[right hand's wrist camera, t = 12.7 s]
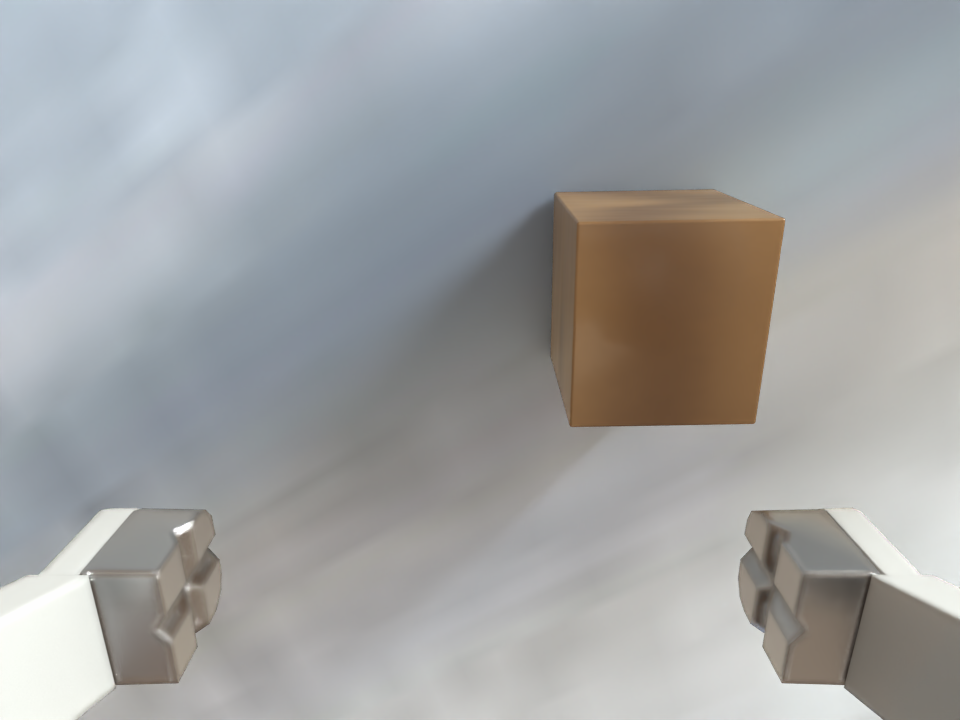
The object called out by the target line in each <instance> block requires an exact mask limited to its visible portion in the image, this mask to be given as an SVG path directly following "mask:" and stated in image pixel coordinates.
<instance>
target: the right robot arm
mask: <svg viewBox="0 0 960 720" xmlns="http://www.w3.org/2000/svg"><path fill="white" fill-rule="evenodd" d="M214 536H215V530H214V525H213V520H212V516H211V515H210V514H209V513H208V512H207V511H206V510H194V509H145V508H142V509H138V508H109V509H104V510H100V511H99V512H98V513H97V514H96V515H95V516H94V517H93V518H92V519H91V520H90V521H89V522H88V524H87V525H86V526H85V527H84V528H83V529H82V530H81V531H80V532H79V533H78V534H77V535H76V536H75V537H74V538H73V539H72V540H71V541H70V542H69V543H68V545H67V546H66V547H65V548H64V549H63V550H62V551H61V552H60V553H59V554H58V555H57V556H56V557H55V558H54V559H53V560H52V561H51V562H50V563H49V564H48V566H47V567H46V568H45V569H44V570H43V571H42V572H41V573H40V574H39V575H26V576H24V577H22V578H20V579H18V580H16V581H14V582H11V583H9V584H7V585H5V586H3V587H1V588H0V720H77V719H78V718H80V717H81V716H82V715H83V714H85V713H86V712H87V711H88V710H89V709H91V708H92V707H93V706H94V705H96V704H97V703H98V702H99V701H101V700H102V699H103V698H104V697H105V696H107V695H108V694H109V693H110V692H112V691H113V690H114V689H115V688H116V686H115V685H129V684H163V683H179V681H180V679H181V677H182V675H183V673H184V671H185V669H186V667H187V666H188V664H189V662H190V660H191V658H192V656H193V654H194V652H195V650H196V649H197V647H198V646H197V640H196V635H195V633H197V632H198V631H199V630H201V629H202V628H204V627H205V626H207V625H208V624H210V622H211V620H212V618H213V616H214V614H215V612H216V610H217V606H218V602H219V597H220V593H221V580H222V573H221V566H220V559H219V558H218V557H217V556H216V555H215V554H214V553H213V552H212V551H211V550H210V549H209V548H208V546H209V544H210V543H211V541H212V539H213V538H214ZM745 536H746V538H747V539H748V541H749V543H750V544H751V546H752V548H751V549H750V550H749V551H748V552H747V553H746V554H745V555H744V556H743V557H742V558H741V559H740V567H739V575H738V583H739V593H740V599H741V603H742V606H743V609H744V612H745V614H746V616H747V618H748V620H749V622H750V624H752V625H753V626H755V627H756V628H758V629H759V630H761V631H762V632H763V633H765V635H764V640H763V646H762V647H763V649H764V650H765V652H766V654H767V656H768V658H769V660H770V662H771V664H772V665H773V667H774V669H775V671H776V673H777V675H778V677H779V679H780V680H781V682H782V683H795V684H831V685H845V686H844V688H845V689H846V690H847V691H849V692H850V693H851V694H852V695H854V696H855V697H856V698H857V699H859V700H860V701H861V702H862V703H863V704H865V705H866V706H867V707H868V708H870V709H871V710H872V711H873V712H874V713H876V714H877V715H878V716H879V717H881V718H882V719H883V720H960V588H959V587H957V586H955V585H953V584H951V583H949V582H946V581H944V580H942V579H940V578H938V577H936V576H934V575H921V574H920V573H919V572H918V571H917V570H916V569H915V568H914V567H913V565H912V564H911V563H910V562H909V561H908V560H907V559H906V558H905V557H904V556H903V555H902V554H901V553H900V552H899V551H898V550H897V549H896V548H895V547H894V545H893V544H892V543H891V542H890V541H889V540H888V539H887V538H886V537H885V536H884V535H883V534H882V533H881V532H880V531H879V530H878V529H877V528H876V527H875V526H874V524H873V523H872V522H871V521H870V520H869V519H868V518H867V517H866V516H865V515H864V514H863V513H862V512H861V511H859V510H856V509H854V508H831V509H811V510H766V511H751V513H750V515H749V517H748V519H747V523H746V529H745Z"/></svg>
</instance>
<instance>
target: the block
mask: <svg viewBox="0 0 960 720" xmlns="http://www.w3.org/2000/svg"><path fill="white" fill-rule="evenodd" d="M784 225H785V219H784V218H782V217H780V216H777V215H775V214H772V213H770V212H767V211H765V210H763V209H760V208H758V207H755V206H753V205H750V204H748V203H746V202H743V201H741V200H738V199H736V198H733V197H731V196H729V195H726V194H724V193H721V192H719V191H716V190H714V189H710V190H655V191H600V192H556V193H555V194H554V225H553V269H552V313H551V360H552V363H553V367H554V370H555V374H556V378H557V381H558V385H559V389H560V392H561V396H562V399H563V403H564V407H565V410H566V414H567V418H568V421H569V425H570V426H571V427H600V426H659V425H718V424H754V423H755V421H756V414H757V407H758V401H759V394H760V387H761V380H762V374H763V367H764V360H765V353H766V347H767V340H768V333H769V327H770V320H771V313H772V306H773V300H774V293H775V286H776V279H777V273H778V266H779V259H780V252H781V246H782V239H783V232H784Z"/></svg>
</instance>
